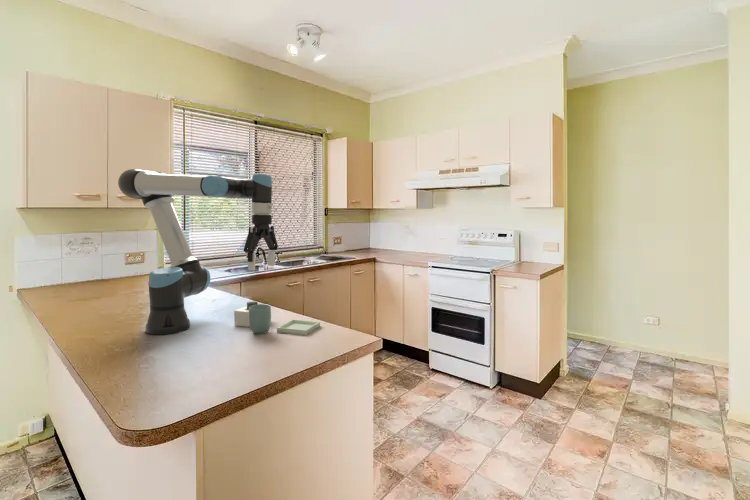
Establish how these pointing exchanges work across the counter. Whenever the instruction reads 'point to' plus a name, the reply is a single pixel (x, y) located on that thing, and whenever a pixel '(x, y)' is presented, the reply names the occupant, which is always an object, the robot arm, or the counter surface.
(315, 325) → the tray
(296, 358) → the counter surface
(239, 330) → the counter surface
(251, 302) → the grey oval solid
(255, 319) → the cup
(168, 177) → the robot arm
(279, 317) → the counter surface
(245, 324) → the housing
